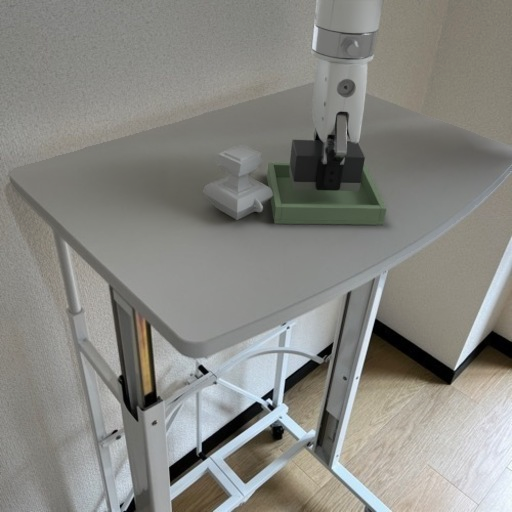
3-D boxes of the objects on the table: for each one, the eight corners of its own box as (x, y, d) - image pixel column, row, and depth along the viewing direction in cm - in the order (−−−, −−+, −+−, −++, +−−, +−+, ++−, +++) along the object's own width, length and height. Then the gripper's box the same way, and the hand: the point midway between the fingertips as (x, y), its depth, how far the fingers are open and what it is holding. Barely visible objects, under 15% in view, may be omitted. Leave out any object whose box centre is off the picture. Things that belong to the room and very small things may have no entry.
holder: (362, 179, 83) (365, 164, 82) (383, 225, 73) (386, 208, 72) (266, 178, 82) (268, 162, 81) (274, 223, 72) (275, 206, 70)
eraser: (351, 173, 78) (357, 141, 75) (359, 191, 74) (365, 157, 71) (288, 172, 78) (292, 139, 75) (292, 189, 73) (296, 155, 71)
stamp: (196, 205, 75) (196, 148, 70) (232, 189, 79) (233, 134, 74) (243, 233, 70) (246, 173, 65) (278, 214, 74) (283, 157, 69)
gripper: (393, 65, 58) (364, 211, 69) (359, 25, 72) (339, 152, 83) (323, 62, 58) (305, 210, 68) (303, 22, 72) (290, 151, 82)
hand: (324, 177), depth 76 cm, fingers closed on eraser, 5 cm apart
